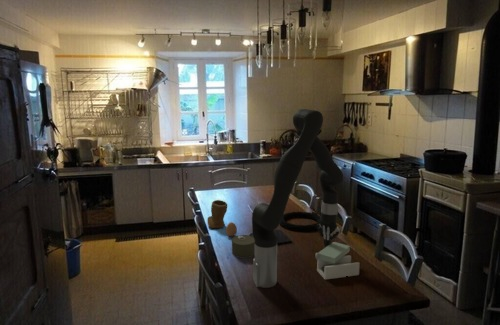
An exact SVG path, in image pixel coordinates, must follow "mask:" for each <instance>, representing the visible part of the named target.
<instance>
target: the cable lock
mask: <svg viewBox="0 0 500 325" xmlns="http://www.w3.org/2000/svg"><path fill="white" fill-rule="evenodd" d="M292 218H306V219H310V220H314V221H315V222H316V223H313V224H305V225H303V224H294V223H290V222H287V221H286V220H288V219H292ZM320 222H321V215H319V214H318V212H317V211H312V212H310V211H309V212H306V211H292V212H287V213H286V212H285V213H284V214H283V217H282V220H281V222H280V224H279V226H281V227H283V228H285V229H287V230H291V231H295V232H296V231H297V232H312V231H316V230H317V228H316V225H318V224H320ZM317 231H318V230H317Z"/></svg>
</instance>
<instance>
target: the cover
mask: <svg viewBox="0 0 500 325" xmlns="http://www.w3.org/2000/svg"><path fill="white" fill-rule="evenodd" d="M350 248H351V246H350V245H348V244H344V243H340V242H337V241H333V242H331V244H330V245H328V246H327V247H324V248H323V249H321V250H320V251H318V252H315V258H314V259H316V260H317V259H321V260H324V261H327V262H330V263H333V264H335V263H336V262H337V261H338V260H339V259H341V258H342V257H343V256H347V255H346V254H348V253H349V252H350V251H351V250H350Z"/></svg>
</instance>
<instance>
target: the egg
mask: <svg viewBox="0 0 500 325" xmlns="http://www.w3.org/2000/svg"><path fill="white" fill-rule="evenodd" d="M237 228H238V227H237V225H236V223H234V222H232V221H231V222H229V223H228V224H227V225H226V228H225V232H226V234H227V236H229V237H235V235H236V234H237V232H238V229H237Z"/></svg>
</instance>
